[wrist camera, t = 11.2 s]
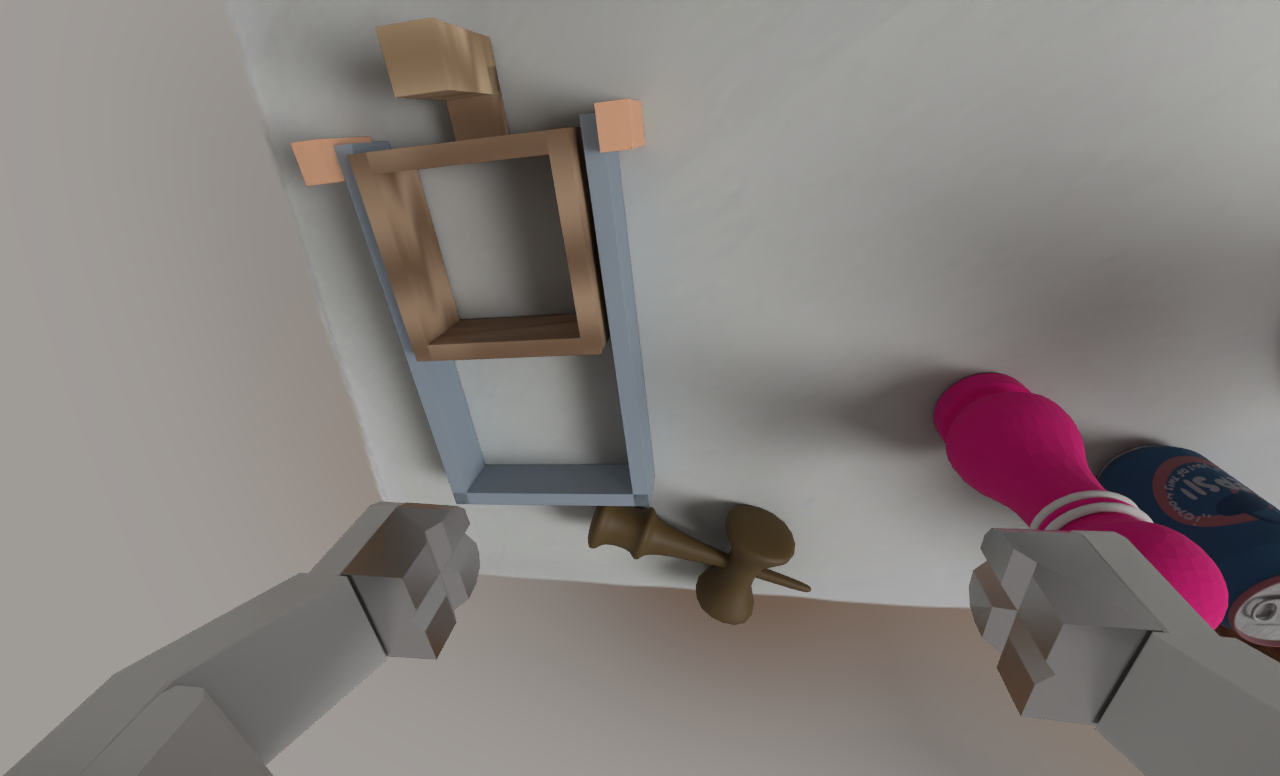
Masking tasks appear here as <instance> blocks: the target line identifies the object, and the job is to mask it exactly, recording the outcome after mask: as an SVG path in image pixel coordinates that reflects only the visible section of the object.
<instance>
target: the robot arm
mask: <svg viewBox="0 0 1280 776" xmlns="http://www.w3.org/2000/svg"><path fill="white" fill-rule="evenodd" d="M469 525H470V522H469V520H468V517H467V514H466V511H465V509H463V508H461V507H458V506H449V505H434V504H419V503H395V502H382V501H380V502H377V503H375V504H373V505H370V506H369V507H368V508H367V510H366V511H365V512H364V513H363V514H362V515H361V516H360V517H359V518H358V519H357V520H356V522H355V523H354V524H353V525H352V526H351V527H350V528H349V529H348V530H347V532H345V534H344V535H343V536H342V537H341V538H340V539H339V540H338V541H337V542H336V543H335V545H334V546H333V547H332V548H331V549H330V550H329V551H328V552H327V553H326V555H324V557H323V558H322V559H321V560H320V561H319V562H318V563H317V564H316V565H315V566H314V567H313V569H312V570H311V571H310V572H309V573H299V574H297V575H295V576H293V577H291V578H289V579H288V580H286V581H284V582H282V583H280V584H278V585H277V586H275V587H273V588H271V589H269V590H267V591H266V592H264V593H262V594H260V595H258V596H256V597H255V598H253V599H251V600H249V601H248V602H245V603H244V604H242V605H240V606H238V607H236V608H234V609H233V610H231V611H229V612H227V613H225V614H223V615H222V616H220V617H218V618H216V619H214V620H212V621H211V622H209V623H207V624H205V625H203V626H202V627H200V628H198V629H196V630H194V631H192V632H190V633H189V634H187V635H185V636H183V637H181V638H179V639H178V640H176V641H174V642H172V643H170V644H168V645H167V646H165V647H163V648H161V649H159V650H157V651H156V652H154V653H152V654H150V655H148V656H146V657H145V658H143V659H141V660H139V661H137V662H135V663H134V664H132V665H130V666H128V667H126V668H125V669H123V670H121V671H119V672H117V673H115V674H114V675H112V676H111V677H110V678H109V679H108V680H107V681H106V682H105V683H104V684H103V685H102V686H101V687H99V688H98V689H97V690H96V691H95V692H94V693H93V694H92V695H91V696H90V697H88V698H87V699H86V700H85V701H84V702H83V703H82V704H81V705H80V706H79V707H78V708H77V709H76V710H74V711H73V712H72V713H71V714H70V715H69V716H68V717H67V718H66V719H65V720H64V721H62V722H61V723H60V724H59V725H58V726H57V727H56V728H55V729H54V730H53V731H51V732H50V733H49V734H48V735H47V736H46V737H45V738H44V739H43V740H42V741H41V742H39V743H38V744H37V745H36V746H35V747H34V748H33V749H32V750H31V751H30V752H29V753H27V754H26V755H25V756H24V757H23V758H22V759H21V760H20V761H19V762H18V763H17V764H16V765H15V766H13V767H12V768H11V769H10V770H9V771H8V772H7V773H6V774H5V775H3V776H273V775H272V773H271V772H270V771H269V770H268V768H267V767H266V766H265V765H267V764H268V763H269V762H270V761H271V760H272V759H273V758H274V757H276V756H277V755H278V754H279V753H280V752H281V751H283V750H284V749H285V748H286V747H287V746H288V745H290V744H291V743H292V742H293V741H294V740H295V739H296V738H298V737H299V736H300V735H301V734H302V733H303V732H304V731H306V730H307V729H308V728H309V727H310V726H311V725H312V724H314V723H315V722H316V721H317V720H318V719H319V718H321V717H322V716H323V715H324V714H325V713H326V712H327V711H329V710H330V709H331V708H332V707H333V706H334V705H336V704H337V703H338V702H339V701H340V700H341V699H342V698H344V696H346V695H347V694H348V693H349V692H351V691H352V690H353V689H354V688H355V687H356V686H357V685H359V684H360V683H361V682H362V681H363V680H364V679H366V678H367V677H368V676H369V675H370V674H371V673H372V672H374V671H375V670H376V669H377V668H378V667H379V666H380V665H382V664H383V663H384V662H385V661H386V660H387V657H386V656H391V657H405V658H421V659H437V658H438V656H439V654H440V652H441V650H442V648H443V646H444V645H445V642H446V641H447V639H448V637H449V635H450V633H451V632H452V630H453V628H454V626H455V624H456V618H455V613H454V610H455V609H456V608H457V607H458V606H460V605H461V604H463V603H464V602H465V601H467V600H468V599H469V597H470V595H471V593H472V591H473V589H474V587H475V585H476V582H477V578H478V573H479V569H480V559H479V551H478V548H477V545H476V543H475V542H474V541H473V540H472V539H471V538H470V537H469V536H468V535H466V534H465V532H466V530H467V528H468V526H469ZM980 549H981V550H982V552H983V554H984V556H985V557H986V559H987V561H986V562H984V563H983V564H982V565H980V566H979V567H977V568H976V569H975V570H973V573H972V577H971V581H970V585H969V597H970V608H971V611H972V614H973V618H974V621H975V624H976V626H977V628H978V630H979V632H980V634H981V636H982V638H983V639H985V640H986V641H987V642H988V643H989V644H991V645H992V646H993V647H995V648H996V649H997V650H998V651H999V652H1001V656H1000V659H999V662H998V665H997V669H998V671H999V673H1000V675H1001V677H1002V679H1003V681H1004V683H1005V686H1006V688H1007V690H1008V692H1009V694H1010V696H1011V698H1012V700H1013V702H1014V704H1015V706H1016V708H1017V710H1018V712H1019V714H1020V716H1023V717H1031V718H1039V719H1047V720H1055V721H1063V722H1072V723H1079V724H1088V725H1096V728H1095V729H1096V730H1097V731H1098V732H1099V733H1100V734H1101V735H1102V736H1103V737H1104V738H1105V739H1106V740H1108V741H1109V742H1110V743H1111V744H1112V745H1113V746H1114V747H1115V748H1116V749H1117V750H1118V751H1119V752H1121V753H1122V754H1123V755H1124V756H1125V757H1126V758H1127V759H1128V760H1129V761H1130V762H1131V763H1132V764H1133V765H1135V766H1136V767H1137V768H1138V769H1139V770H1140V771H1141V772H1142V773H1143V774H1144V775H1145V776H1280V663H1279V662H1278V661H1276V660H1274V659H1272V658H1270V657H1269V656H1267V655H1265V654H1263V653H1261V652H1260V651H1258V650H1256V649H1254V648H1253V647H1251V646H1249V645H1247V644H1245V643H1244V642H1242V641H1240V640H1238V639H1236V638H1229V637H1220V636H1219V635H1218V634H1217V633H1216V632H1215V631H1214V630H1213V629H1212V628H1211V627H1210V626H1209V625H1208V623H1207V622H1206V621H1205V620H1204V619H1203V618H1202V617H1201V616H1200V615H1199V614H1198V613H1197V612H1196V611H1195V610H1194V609H1193V608H1192V607H1191V606H1190V604H1189V603H1188V602H1187V601H1186V600H1185V599H1184V598H1183V597H1182V596H1181V595H1180V594H1179V593H1178V592H1177V591H1176V590H1175V589H1174V588H1173V586H1172V585H1171V584H1170V583H1169V582H1168V581H1167V580H1166V579H1165V578H1164V577H1163V576H1162V575H1161V574H1160V573H1159V572H1158V571H1157V570H1156V569H1155V567H1154V566H1153V565H1152V564H1151V563H1150V562H1149V561H1148V560H1147V559H1146V558H1145V557H1144V556H1143V555H1142V554H1141V553H1140V552H1139V551H1138V550H1137V548H1136V547H1135V546H1134V545H1133V544H1132V543H1131V542H1130V541H1129V540H1128V539H1127V538H1125V537H1124V536H1122V535H1120V534H1118V533H1116V532H1111V531H1074V530H1072V531H1060V530H1031V529H1002V528H991V529H990V530H989V531H988V532H987V533H986V534H985V536H984V539H983V542H982V545H981V548H980Z"/></svg>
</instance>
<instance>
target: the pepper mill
mask: <svg viewBox="0 0 1280 776" xmlns="http://www.w3.org/2000/svg"><path fill="white" fill-rule="evenodd" d="M934 424H935V427H936V429H937V431H938V433H939V434H940V436H941V437H942V439H943V440H944V442H945V443H946V452H947V456H948V459H949V461H950V463H951V465H952V467H953V468H954V469H955V471H956V472H957V473H958V474H959V475H960V476H961V478H962V479H963V480H964V481H965V482H966V483H968V484H969V485H970V486H972V487H973V488H974V489H976V490H977V491H978V492H980V493H981V494H983V495H985V496H987V497H989V498H991V499H993V500H995V501H997V502H999V503H1001V504H1003V505H1005V506H1007V507H1008V508H1010V509H1011V510H1013V511H1014V512H1015V513H1017V514H1018V515H1019V516H1020V517H1021V518H1022V520H1023V521H1024V522H1025V523H1026V524H1027V525H1028V526H1029V528H1030V529H1031V530H1060V531H1072V530H1074V531H1111V532H1116V533H1118V534H1120V535H1122V536H1124V537H1125V538H1127V539H1128V540H1129V541H1130V542H1131V543H1132V544H1133V545H1134V546H1135V547H1136V548H1137V550H1138V551H1139V552H1140V553H1141V554H1142V555H1143V556H1144V557H1145V558H1146V559H1147V560H1148V561H1149V562H1150V563H1151V564H1152V565H1153V566H1154V567H1155V569H1156V570H1157V571H1158V572H1159V573H1160V574H1161V575H1162V576H1163V577H1164V578H1165V579H1166V580H1167V581H1168V582H1169V583H1170V584H1171V585H1172V586H1173V588H1174V589H1175V590H1176V591H1177V592H1178V593H1179V594H1180V595H1181V596H1182V597H1183V598H1184V599H1185V600H1186V601H1187V602H1188V603H1189V604H1190V606H1191V607H1192V608H1193V609H1194V610H1195V611H1196V612H1197V613H1198V614H1199V615H1200V616H1201V617H1202V618H1203V619H1204V620H1205V621H1206V622H1207V623H1208V625H1209V626H1210V627H1211V628H1212V629H1213V630H1215V629H1216V628H1217V627H1218V625H1219V624H1220V623H1221V622H1222V620H1223V618H1224V616H1225V613H1226V610H1227V608H1228V590H1227V586H1226V582H1225V580H1224V578H1223V576H1222V574H1221V571H1220V570H1219V568H1218V567H1217V565H1216V564H1215V563H1214V561H1213V560H1212V559H1211V558H1210V557H1209V556H1208V555H1207V554H1206V552H1205V551H1204V550H1203V549H1202V548H1201V547H1199V546H1198V545H1197V544H1195V543H1194V542H1193V541H1191V540H1190V539H1189V538H1187V537H1186V536H1185V535H1183V534H1181V533H1179V532H1177V531H1175V530H1173V529H1171V528H1169V527H1166V526H1163V525H1159V524H1155V523H1153V521H1152V520H1151V518H1150V517H1149V516H1148V515H1147V514H1146V513H1144V512H1143V511H1141V510H1140V509H1139V508H1138V506H1137V505H1136V504H1135V503H1134V502H1133V501H1132V500H1130V499H1129V498H1127V497H1125V496H1123V495H1120V494H1118V493H1113V492H1109V491H1107V490H1105V489H1104V488H1103V487H1102V485H1101V484H1100V483H1099V482H1098V480H1097V479H1096V478H1095V477H1094V476H1093V474H1092V473H1091V471H1090V469H1089V467H1088V464H1087V460H1086V455H1085V449H1084V443H1083V440H1082V437H1081V434H1080V432H1079V430H1078V428H1077V426H1076V424H1075V423H1074V422H1073V420H1072V419H1071V417H1070V416H1069V415H1068V414H1067V413H1066V412H1065V411H1064V410H1063V409H1062V408H1061V407H1060V406H1059V405H1057V404H1056V403H1055V402H1053V401H1051V400H1050V399H1048V398H1045V397H1043V396H1041V395H1037V394H1033V393H1031V392H1030V391H1029V390H1028V389H1027V388H1026V387H1024V386H1023V385H1022V384H1021V383H1020V382H1018V381H1017V380H1015V379H1014V378H1012V377H1010V376H1007V375H1004V374H998V373H984V374H977V375H974V376H970V377H967V378H964V379H962V380H961V381H959V382H957V383H955V384H954V385H952V386H951V387H950V388H949V389H948V390H947V391H946V392H945V393H944V394H943V395H942V396H941V398H940V399H939V401H938V402H937V404H936V407H935V410H934Z"/></svg>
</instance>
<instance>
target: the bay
mask: <svg viewBox="0 0 1280 776" xmlns="http://www.w3.org/2000/svg"><path fill="white" fill-rule="evenodd" d="M594 107H595V113H587V114H579V118H580V125H581V132H582V139H583V146H584V153H585V160H586V167H587V174H588V181H589V188H590V196H591V203H592V210H593V217H594V224H595V231H596V238H597V245H598V252H599V259H600V266H601V273H602V280H603V287H604V294H605V301H606V308H607V315H608V322H609V329H610V336H611V343H612V350H613V357H614V364H615V371H616V378H617V385H618V392H619V399H620V406H621V413H622V420H623V427H624V434H625V441H626V448H627V456H628V463H629V465H485V463H484V459H483V456H482V453H481V449H480V446H479V443H478V439H477V436H476V433H475V429H474V426H473V422H472V419H471V416H470V412H469V409H468V406H467V402H466V399H465V396H464V392H463V389H462V386H461V382H460V379H459V376H458V372H457V369H456V366H455V362H454V360H446V361H422V362H417V360H416V357H415V354H414V351H413V348H412V345H411V342H410V339H409V337H408V334H407V331H406V328H405V325H404V322H403V319H402V316H401V313H400V310H399V307H398V304H397V301H396V298H395V295H394V292H393V289H392V286H391V283H390V280H389V277H388V274H387V271H386V268H385V265H384V262H383V259H382V256H381V253H380V250H379V247H378V244H377V241H376V238H375V235H374V232H373V229H372V226H371V223H370V220H369V217H368V214H367V211H366V209H365V206H364V203H363V200H362V197H361V194H360V191H359V188H358V185H357V182H356V179H355V176H354V173H353V170H352V167H351V164H350V161H349V158H348V155H349V154H357V153H365V152H373V151H381V150H389V149H391V148H390V145H389V142H388V141H382V142H372V140H371V137H352V138H333V139H316V140H308V141H300V142H293V143H290V144H291V146H292V149H293V151H294V154H295V157H296V159H297V162H298V165H299V167H300V170H301V173H302V175H303V178H304V180H305V183H306V186H310V185H319V184H328V183H336V182H342V181H345V182H346V185H347V188H348V191H349V194H350V197H351V199H352V202H353V205H354V208H355V211H356V214H357V217H358V220H359V223H360V225H361V228H362V231H363V234H364V237H365V240H366V243H367V246H368V249H369V252H370V254H371V257H372V260H373V263H374V266H375V269H376V272H377V275H378V278H379V281H380V283H381V286H382V289H383V292H384V295H385V298H386V301H387V304H388V307H389V309H390V312H391V315H392V318H393V321H394V324H395V327H396V330H397V333H398V336H399V338H400V341H401V344H402V347H403V350H404V353H405V356H406V359H407V362H408V365H409V367H410V370H411V373H412V376H413V379H414V382H415V385H416V388H417V391H418V393H419V396H420V399H421V402H422V405H423V408H424V411H425V414H426V417H427V420H428V422H429V425H430V428H431V431H432V434H433V437H434V440H435V443H436V446H437V449H438V451H439V454H440V457H441V460H442V463H443V466H444V469H445V472H446V475H447V477H448V480H449V483H450V486H451V489H452V492H453V495H454V498H455V501H456V504H495V505H577V506H650V500H651V495H652V490H653V484H654V479H655V470H654V461H653V453H652V444H651V435H650V427H649V418H648V409H647V400H646V392H645V383H644V374H643V366H642V357H641V348H640V340H639V331H638V322H637V313H636V305H635V296H634V287H633V279H632V270H631V261H630V253H629V244H628V235H627V226H626V218H625V209H624V200H623V192H622V183H621V174H620V166H619V157H618V151H621V150H630V149H634V148H637V147H640V146H643V145H645V137H644V126H643V115H642V104H641V101H636V100H631V99H622V100H614V101H606V102H599V103H594Z"/></svg>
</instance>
